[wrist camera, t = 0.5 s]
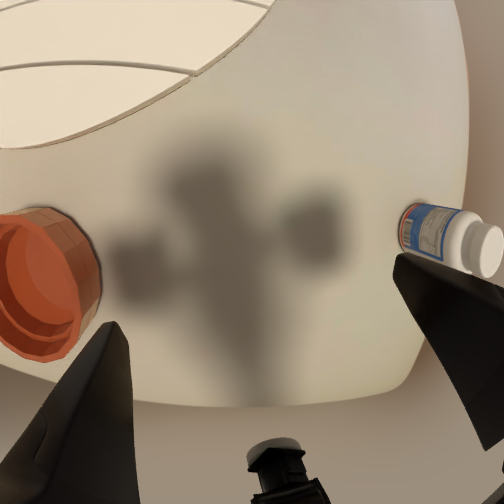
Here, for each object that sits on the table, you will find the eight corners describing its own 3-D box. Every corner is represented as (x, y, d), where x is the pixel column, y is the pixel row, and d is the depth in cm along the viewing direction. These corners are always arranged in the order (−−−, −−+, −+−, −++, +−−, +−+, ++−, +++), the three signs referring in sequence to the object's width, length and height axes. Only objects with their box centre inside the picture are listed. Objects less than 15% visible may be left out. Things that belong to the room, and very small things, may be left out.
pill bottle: (440, 229, 25) (512, 251, 16) (412, 266, 25) (483, 301, 16) (419, 190, 23) (499, 202, 14) (388, 229, 24) (468, 256, 14)
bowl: (87, 351, 21) (69, 384, 16) (-4, 297, 18) (-31, 319, 14) (120, 240, 20) (99, 258, 15) (16, 187, 17) (-19, 191, 12)
